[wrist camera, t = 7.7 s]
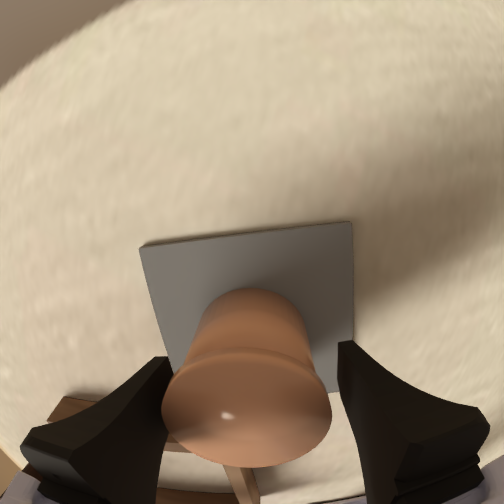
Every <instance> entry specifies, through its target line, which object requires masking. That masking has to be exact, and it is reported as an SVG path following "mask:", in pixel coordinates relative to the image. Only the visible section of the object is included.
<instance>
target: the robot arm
mask: <svg viewBox="0 0 504 504" xmlns="http://www.w3.org/2000/svg"><path fill="white" fill-rule="evenodd" d="M173 375H174V373H173V370H172V367H171V364H170V361H169V358H168V356H161V357H154V358H153V359H152V360H150V361H149V362H148V363H147V364H146V365H144V366H143V367H142V368H141V369H140V370H139V371H138V372H136V373H135V374H134V375H133V376H132V377H131V378H130V379H128V380H127V381H126V382H125V383H124V384H122V385H121V386H120V387H118V388H117V389H116V390H114V391H113V392H112V393H111V394H109V395H108V396H106V397H105V398H103V399H102V400H100V401H99V402H97V403H95V404H94V405H92V406H90V407H88V408H86V409H84V410H82V411H80V412H78V413H76V414H74V415H72V416H70V417H67V418H65V419H62V420H59V421H56V422H53V423H50V424H46V425H42V426H38V427H33V428H32V429H31V430H30V432H29V433H28V435H27V436H26V438H25V439H24V441H23V442H22V444H21V445H20V450H21V452H22V454H23V456H24V457H25V458H26V460H27V461H28V462H29V463H30V464H31V465H32V466H33V467H34V468H35V469H36V471H37V472H38V473H39V474H40V475H41V476H42V477H43V479H42V481H41V482H40V481H38V480H37V479H35V478H34V477H32V476H30V475H28V474H26V473H24V472H22V471H18V472H17V473H16V475H15V476H14V478H13V480H12V482H11V483H10V485H9V486H8V488H7V490H6V492H5V493H4V495H3V497H2V498H1V500H0V504H156V492H157V484H158V476H159V470H160V464H161V459H162V454H163V450H164V447H165V444H166V441H167V438H168V435H169V431H168V429H167V428H166V426H165V424H164V421H163V418H162V412H161V406H162V401H163V398H164V395H165V393H166V390H167V388H168V385H169V383H170V380H171V378H172V377H173ZM337 382H338V387H339V391H340V396H341V400H342V402H343V405H344V408H345V411H346V414H347V417H348V419H349V422H350V425H351V428H352V431H353V434H354V436H355V440H356V443H357V447H358V452H359V457H360V462H361V467H362V473H363V479H364V485H365V492H366V495H365V496H361V497H356V498H351V499H347V500H341V501H336V502H330V503H323V504H504V455H502V456H500V457H499V458H497V459H495V460H493V461H492V462H490V463H488V464H487V465H485V466H484V467H483V468H482V469H481V470H480V468H479V466H478V463H479V462H480V458H479V456H478V455H477V452H478V451H479V449H480V448H481V446H482V445H483V443H484V441H485V440H486V438H487V436H488V434H489V431H490V425H489V423H488V421H487V420H486V418H485V417H484V415H483V414H482V413H481V411H480V410H479V409H478V407H473V406H468V405H463V404H458V403H454V402H451V401H447V400H444V399H441V398H438V397H435V396H433V395H430V394H428V393H426V392H424V391H421V390H419V389H417V388H415V387H413V386H411V385H410V384H408V383H406V382H404V381H403V380H401V379H399V378H398V377H396V376H395V375H393V374H392V373H391V372H389V371H388V370H386V369H385V368H384V367H383V366H381V365H380V364H379V363H378V362H376V361H375V360H374V359H373V358H372V357H371V356H369V355H368V354H367V353H366V352H365V351H364V350H363V349H362V348H361V347H360V346H358V345H357V344H356V343H355V342H354V341H353V340H348V341H342V342H338V359H337Z"/></svg>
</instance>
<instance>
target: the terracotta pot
mask: <svg viewBox="0 0 504 504" xmlns="http://www.w3.org/2000/svg"><path fill="white" fill-rule="evenodd" d="M161 412H162V418H163V421H164V424H165V426H166V428H167V429H168V431H169V433H170V434H171V435H172V436H173V437H174V439H175V440H176V441H177V442H179V443H180V444H181V445H182V446H183V447H185V448H186V449H187V450H189V451H191V452H192V453H194V454H196V455H198V456H200V457H202V458H204V459H207V460H210V461H212V462H216V463H219V464H223V465H228V466H235V467H246V468H256V467H268V466H274V465H279V464H282V463H286V462H289V461H292V460H294V459H297V458H299V457H301V456H303V455H304V454H306V453H308V452H309V451H311V450H312V449H313V448H315V447H316V446H317V445H318V444H319V443H320V442H321V441H322V440H323V439H324V437H325V436H326V434H327V432H328V431H329V428H330V425H331V421H332V410H331V405H330V401H329V397H328V393H327V390H326V387H325V385H324V383H323V381H322V380H321V378H320V377H319V376H318V375H317V374H316V371H315V366H314V362H313V358H312V353H311V349H310V344H309V340H308V336H307V332H306V327H305V323H304V320H303V318H302V316H301V314H300V312H299V311H298V309H297V308H296V307H295V306H294V305H293V304H292V303H291V302H290V301H289V300H287V299H286V298H285V297H283V296H281V295H279V294H277V293H275V292H272V291H269V290H265V289H259V288H242V289H237V290H233V291H230V292H227V293H225V294H223V295H221V296H219V297H218V298H216V299H215V300H214V301H213V302H211V303H210V304H209V305H208V307H207V308H206V309H205V311H204V312H203V314H202V316H201V319H200V321H199V324H198V326H197V329H196V332H195V334H194V337H193V340H192V342H191V345H190V348H189V351H188V353H187V356H186V359H185V361H184V364H183V365H182V366H181V367H180V368H179V369H178V370H177V371H176V372H175V374H174V375H173V377H172V378H171V380H170V383H169V385H168V388H167V390H166V393H165V395H164V398H163V401H162V406H161Z"/></svg>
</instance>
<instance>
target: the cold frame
mask: <svg viewBox="0 0 504 504" xmlns="http://www.w3.org/2000/svg"><path fill="white" fill-rule="evenodd" d="M95 403H97V402H92V401H85V400H79V399H73V398H67V397H63V398H62V399H61V401H60V402H59V404H58V405H57V406H56V408H55V409H54V411H53V412H52V413H51V415H50V416H49V418H48V419H47V422H48V423H49V424H50V423H53V422H56V421H59V420H62V419H65V418H67V417H70V416H72V415H74V414H76V413H78V412H80V411H82V410H84V409H86V408H88V407H90V406H92V405H94V404H95ZM163 451H172V452H186V453H192V452H191V451H189V450H187V449H186V448H185V447H183V446H182V445H181V444H180V443H179V442H177V441H176V440H175V439H174V437H173V436H172V435H171V434H170V433H169V435H168V438H167V441H166V444H165V447H164V450H163ZM223 467H224V469H225V472H226V474H227V476H228V479H229V481H230V483H231V485H232V488H233V490H234V492H235V494H229V493H204V492H190V491H180V490H171V489H163V488H157V492H156V504H260V494H259V491H258V488H257V484H256V481H255V478H254V474H253V471H252V468H246V467H235V466H228V465H223Z"/></svg>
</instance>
